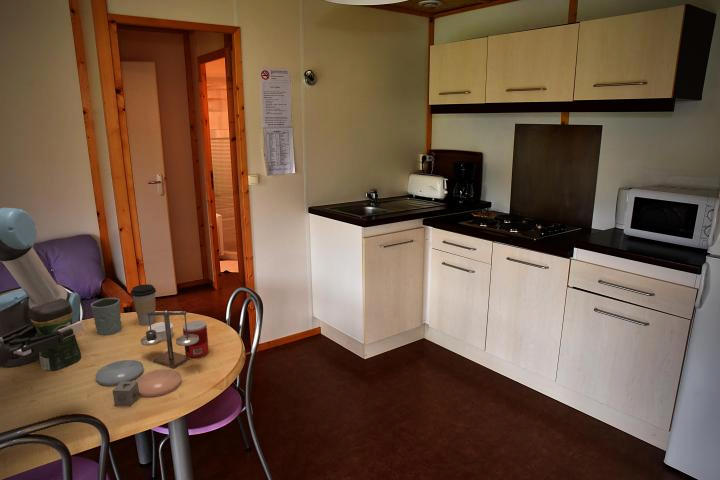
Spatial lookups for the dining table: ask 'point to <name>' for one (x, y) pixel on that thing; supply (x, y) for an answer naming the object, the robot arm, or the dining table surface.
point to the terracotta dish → (158, 382)
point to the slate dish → (119, 372)
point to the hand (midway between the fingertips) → (71, 323)
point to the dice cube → (125, 393)
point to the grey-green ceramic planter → (107, 315)
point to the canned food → (202, 345)
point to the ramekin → (161, 329)
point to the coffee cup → (144, 302)
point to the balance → (169, 341)
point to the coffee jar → (49, 322)
